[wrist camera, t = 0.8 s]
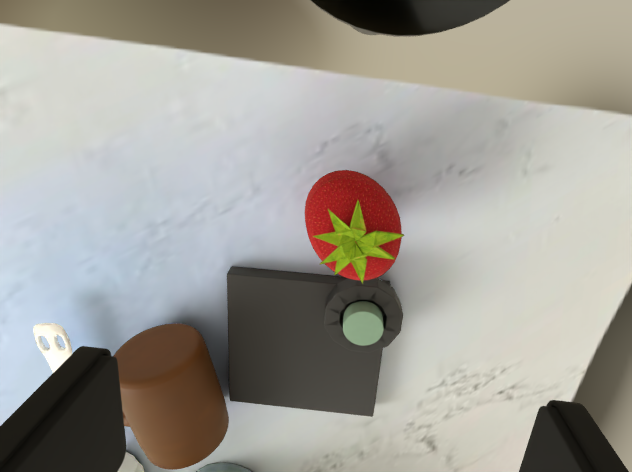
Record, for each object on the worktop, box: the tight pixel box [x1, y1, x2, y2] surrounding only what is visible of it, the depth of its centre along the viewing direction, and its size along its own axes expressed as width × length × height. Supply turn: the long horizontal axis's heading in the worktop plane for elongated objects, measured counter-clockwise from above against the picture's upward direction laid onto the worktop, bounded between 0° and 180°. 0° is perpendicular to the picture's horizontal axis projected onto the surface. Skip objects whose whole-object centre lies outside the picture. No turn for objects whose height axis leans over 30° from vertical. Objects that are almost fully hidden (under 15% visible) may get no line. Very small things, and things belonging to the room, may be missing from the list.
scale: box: [227, 267, 403, 417], centre depth 37 cm, size 14×14×3 cm
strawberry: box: [305, 170, 404, 284], centre depth 29 cm, size 6×8×10 cm
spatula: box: [33, 323, 144, 472], centre depth 44 cm, size 28×6×3 cm, turn 6°
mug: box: [114, 324, 229, 469], centre depth 38 cm, size 12×8×9 cm
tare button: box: [343, 301, 384, 346], centre depth 34 cm, size 3×3×2 cm
